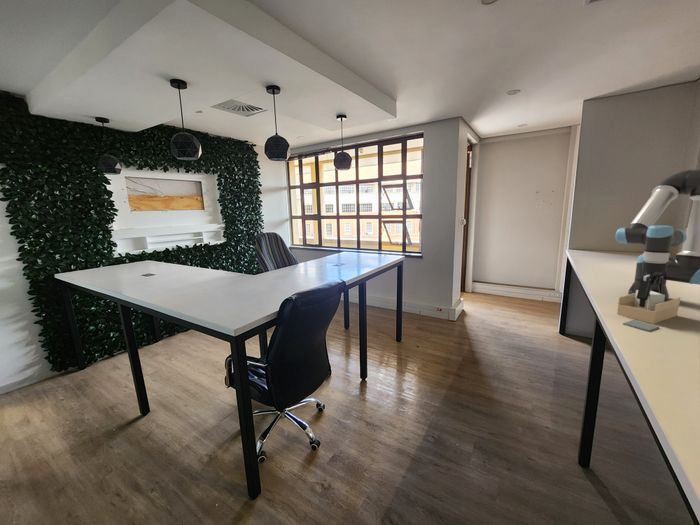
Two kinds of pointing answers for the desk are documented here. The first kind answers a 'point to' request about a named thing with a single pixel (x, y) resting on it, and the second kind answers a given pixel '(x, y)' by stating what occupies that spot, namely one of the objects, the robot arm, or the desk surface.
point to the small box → (651, 300)
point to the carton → (660, 314)
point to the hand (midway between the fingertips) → (647, 312)
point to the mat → (641, 325)
